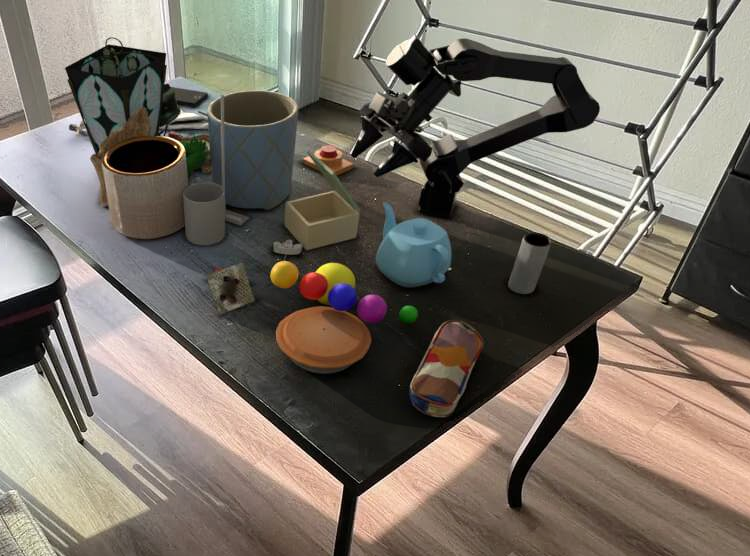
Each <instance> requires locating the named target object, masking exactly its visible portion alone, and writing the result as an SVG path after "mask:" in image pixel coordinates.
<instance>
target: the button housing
mask: <svg viewBox="0 0 750 556" xmlns="http://www.w3.org/2000/svg"><path fill="white" fill-rule="evenodd" d="M313 154H314V155H315V156H316V157H317V158H319V159H320V160H321V161H322V162H323V163H324V164H325V165H326V166H327V167H329V168H330V169H331V170H332V171H333V172H334V173H335V174H336V176H337V177H338V176H339V175H341V174H343V173H345V172H346V173H347V172H348V171H350V170H352V169H354V163H353V162H351V161H349V160H347V159H345V158H344V154H343V152H342V150H340V149H338V148H337V153H336V157H334V158H324V157H322V156H321V148H320V149H317V150H316V151H315V152H314V153H313ZM302 164H304V165H305V166H308V167H310V168H311V169H313V170H316V171H317V172H319V173H321V171H320V170H319V168H318V167H317V166H316V164H315V163H314V161H313V160H312V159H311V157H310V156H309V155H308V156H305V157H303V158H302Z"/></svg>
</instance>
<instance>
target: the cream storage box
mask: <svg viewBox="0 0 750 556" xmlns="http://www.w3.org/2000/svg"><path fill="white" fill-rule="evenodd" d="M284 207H285V208H284V227H285V228H286V229H287V230H288V231H289V232H290V234H292V236H293V237H294V238H295V240H297V241H298V244H301V245H302V248H303V249H304V250H305V251H309V250H312V249H317V248H321V247H324V246H328V245H332V244H333V245H334V244H337V243H341V242H345V241H349V240H353V239H357V234H358V227H359V220H360V212H359V213H358V212H357V211H356V210H355V209H354V208H353V207H352V206H351V205H349V204H348V203H347V202H346V201H345V200H344V199H343V198H342V197H341V196H340V195H339V194H338V193H337V192H336V191H335V190H331V191H327V192H322V193H318V194H314V195H310V196H306V197H305V196H304V197H300V198H296V199H293V200H288V201H285V206H284Z"/></svg>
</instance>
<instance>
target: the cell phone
mask: <svg viewBox="0 0 750 556" xmlns="http://www.w3.org/2000/svg"><path fill="white" fill-rule="evenodd" d="M170 87H171V89H174V91H175V98H176V101H177V104H179V105H186V106H191V107H196V106H198V105H199V104H200V103H201V102H202V101H204V100H205V99H206V98H208V95H209V94H208V92H205V91H201V90H200V91H199V90H193V89H187V88H181V87H174V86H170Z"/></svg>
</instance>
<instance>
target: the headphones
mask: <svg viewBox="0 0 750 556" xmlns="http://www.w3.org/2000/svg"><path fill="white" fill-rule="evenodd" d="M171 87H172V86H171V85H170V83H165V85H164V93H163V102H162V110H161V119H160V127H162V126H165V125H166V126H165V129H161V130H159V136H164V137H166V134H167V132H168V129H167V128H168V124H169V123H170V122H171V121H173V120H175V119H176V118H177V117H178V116H179V115H180V112H181V110H182V109H181V107H180V105H178V103H177V101H176V98H175V91H174V89H171ZM180 109H181V110H180ZM162 134H163V135H162Z"/></svg>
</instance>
